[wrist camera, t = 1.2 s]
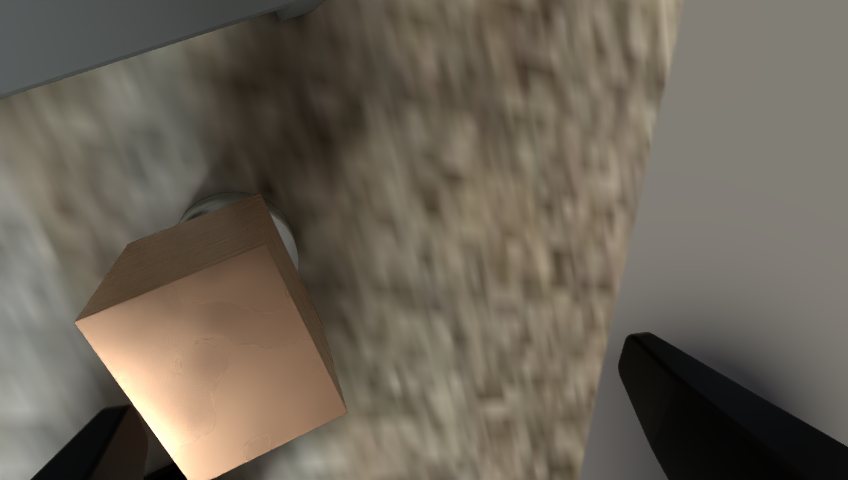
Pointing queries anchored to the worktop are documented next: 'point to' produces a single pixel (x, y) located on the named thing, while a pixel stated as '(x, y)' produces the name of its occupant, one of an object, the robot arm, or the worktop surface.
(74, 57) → the keyhole plate
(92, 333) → the brown and silver block
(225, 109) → the worktop surface
